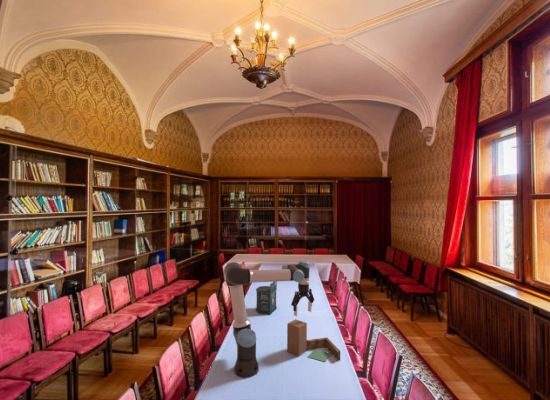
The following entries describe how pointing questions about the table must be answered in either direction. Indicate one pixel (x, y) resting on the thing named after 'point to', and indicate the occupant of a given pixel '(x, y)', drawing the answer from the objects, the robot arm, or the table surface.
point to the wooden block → (296, 337)
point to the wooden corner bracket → (324, 343)
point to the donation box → (266, 299)
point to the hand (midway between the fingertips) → (302, 313)
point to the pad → (319, 355)
